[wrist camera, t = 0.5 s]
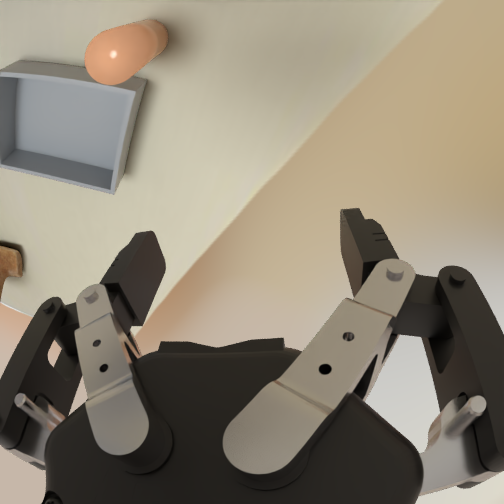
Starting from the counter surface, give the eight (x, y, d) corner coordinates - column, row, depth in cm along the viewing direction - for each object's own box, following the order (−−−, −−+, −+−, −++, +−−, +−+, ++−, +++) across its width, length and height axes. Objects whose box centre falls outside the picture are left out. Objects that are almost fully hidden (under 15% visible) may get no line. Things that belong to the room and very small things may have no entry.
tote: (14, 149, 32) (-2, 166, 28) (18, 60, 22) (-3, 71, 19) (123, 174, 38) (114, 194, 35) (147, 79, 29) (135, 91, 26)
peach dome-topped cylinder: (120, 54, 26) (79, 79, 18) (133, 15, 23) (92, 25, 15) (160, 63, 28) (132, 90, 20) (174, 24, 24) (149, 34, 17)
